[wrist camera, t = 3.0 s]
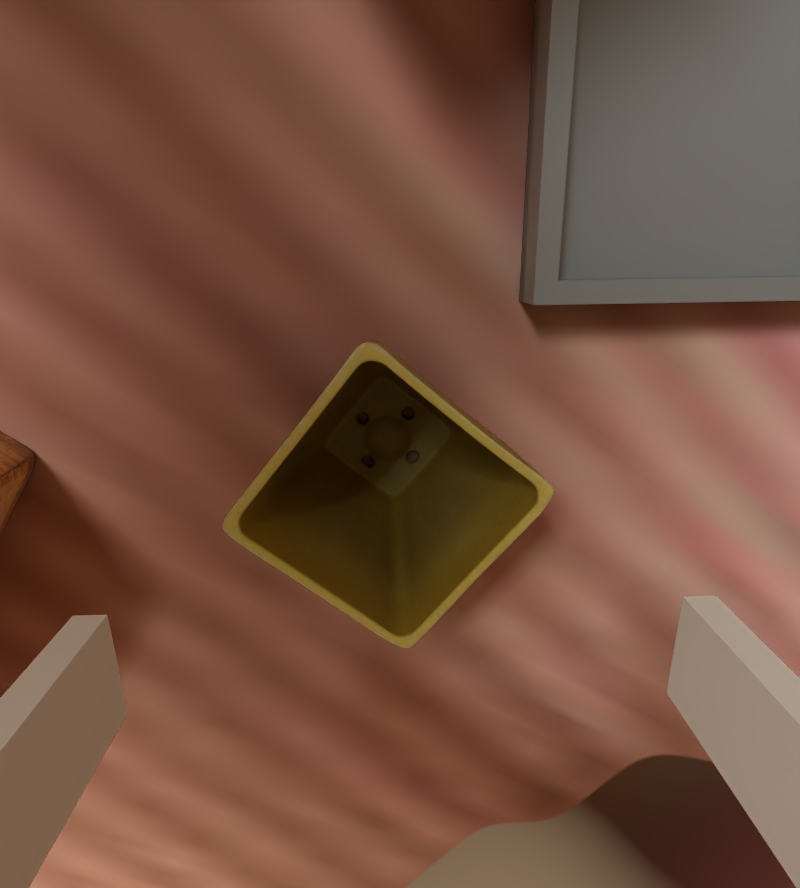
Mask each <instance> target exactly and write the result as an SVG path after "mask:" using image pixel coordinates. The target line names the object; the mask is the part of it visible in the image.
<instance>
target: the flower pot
mask: <svg viewBox="0 0 800 888" xmlns="http://www.w3.org/2000/svg"><path fill="white" fill-rule="evenodd" d="M406 408H411V409H412V410H413V412H414V414H413V417H412V418H410V419H406V418H404V417H403V415H402V412H403V410H404V409H406ZM360 413H366V414H367V415H368V421H367V422H366V423H360V422H359V421H358V420H357V416H358V415H359V414H360ZM410 451H415V452H417V454H418V457H417V459H416V460H414V461H410V460H408V459H407V454H408V453H409V452H410ZM365 456H371V457H372V458H373V459H374V462H373V464H372V465H369V466H367V465H365V464H364V463H363V458H364V457H365ZM553 495H554V489H553V487H552V485H551V484H550V483H549V482H548V481H547V480H545V479H544V478H543V477H542V476H541V475H540V474H539V473H538V472H537V471H536V470H534V469H533V468H532V467H531V466H530V465H529V464H528V463H527V462H526V461H524V460H523V459H522V458H521V457H520V456H519V455H518V454H517V453H516V452H514V451H513V450H512V449H511V448H510V447H509V446H508V445H507V444H506V443H504V442H503V441H502V440H500V439H499V438H498V437H496V436H495V435H494V434H492V433H491V432H490V431H488V430H487V429H486V428H485V427H483V426H482V425H481V424H479V423H478V422H477V421H476V420H474V419H473V418H472V417H470V416H469V415H468V414H467V413H465V412H464V411H463V410H462V409H460V408H459V407H458V406H457V405H455V404H454V403H453V402H452V401H451V400H449V399H448V398H447V397H446V396H444V395H443V394H442V393H441V392H440V391H438V390H437V389H436V388H435V387H433V386H432V385H431V384H430V383H429V382H427V381H426V380H425V379H424V378H423V377H421V376H420V375H419V374H418V373H417V372H415V371H414V370H413V369H412V368H411V367H409V366H408V365H407V364H406V363H405V362H403V361H402V360H401V359H400V358H399V357H397V356H396V355H395V354H394V353H393V352H391V351H390V350H389V349H388V348H387V347H385V346H384V345H383V344H381V343H379V342H375V341H370V342H363V343H362V344H361V345H359V346H358V347H357V348H356V349H355V350H354V351H353V353H352V354H351V355H350V357H349V358H348V359H347V361H346V362H345V364H344V365H343V366H342V368H341V369H340V370H339V372H338V373H337V374H336V375H335V377H334V378H333V379H332V381H331V382H330V383H329V385H328V386H327V387H326V389H325V390H324V391H323V392H322V394H321V395H320V396H319V398H318V399H317V400H316V401H315V403H314V404H313V405H312V407H311V408H310V409H309V411H308V412H307V413H306V415H305V416H304V417H303V418H302V420H301V421H300V422H299V423H298V425H297V426H296V427H295V428H294V430H293V431H292V432H291V434H290V435H289V436H288V437H287V439H286V440H285V441H284V443H283V444H282V445H281V446H280V448H279V449H278V450H277V451H276V453H275V454H274V455H273V457H272V458H271V459H270V460H269V462H268V463H267V464H266V465H265V467H264V468H263V469H262V470H261V472H260V473H259V474H258V476H257V477H256V478H255V479H254V481H253V482H252V483H251V485H250V486H249V487H248V488H247V490H246V491H245V492H244V494H243V495H242V496H241V497H240V498H239V500H238V501H237V502H236V503H235V505H234V506H233V507H232V508H231V510H230V511H229V512H228V514H227V515H226V517H225V518H224V520H223V523H222V529H223V530H224V531H225V532H226V533H227V534H228V535H229V536H230V537H231V538H232V539H234V540H235V541H236V542H237V543H239V544H240V545H242V546H243V547H245V548H247V549H248V550H249V551H251V552H252V553H254V554H255V555H257V556H258V557H260V558H261V559H262V560H264V561H266V562H267V563H269V564H270V565H272V566H273V567H275V568H276V569H278V570H280V571H281V572H283V573H284V574H286V575H287V576H289V577H290V578H292V579H293V580H295V581H297V582H298V583H300V584H301V585H302V586H304V587H305V588H307V589H308V590H310V591H312V592H313V593H315V594H316V595H318V596H320V597H321V598H323V599H324V600H326V601H328V602H329V603H331V604H332V605H333V606H335V607H336V608H338V609H339V610H341V611H342V612H344V613H345V614H347V615H348V616H350V617H352V618H353V619H355V620H356V621H358V622H359V623H361V624H362V625H363V626H365V627H366V628H368V629H369V630H371V631H372V632H374V633H375V634H377V635H378V636H380V637H382V638H384V639H385V640H387V641H389V642H391V643H393V644H395V645H397V646H399V647H401V648H404V649H408V648H410V647H411V646H413V645H414V644H415V643H416V642H418V641H419V640H420V639H421V638H422V637H423V636H424V635H425V634H426V633H427V632H428V631H429V629H430V628H431V627H432V626H433V625H434V624H435V623H436V622H437V621H438V620H439V619H440V618H441V617H442V615H443V614H444V613H445V612H446V611H447V610H448V609H449V608H450V607H451V606H452V605H453V604H454V603H455V602H456V601H457V600H458V599H459V597H460V596H461V595H462V594H463V593H464V592H465V591H466V590H467V589H468V588H469V587H470V586H471V585H472V584H473V583H474V581H475V580H476V579H477V578H478V577H479V576H480V575H481V574H482V573H483V572H484V571H485V570H486V569H487V568H488V567H489V566H490V565H491V564H492V563H493V562H494V561H495V560H496V559H497V558H498V557H499V556H500V555H501V554H502V553H503V552H504V551H505V550H506V549H507V548H508V547H509V546H510V545H511V544H512V543H513V542H514V541H515V540H516V538H517V537H519V536H520V535H521V533H522V532H523V531H525V530H526V528H527V527H528V526H529V525H530V524H531V523H532V522H533V521H534V520H535V519H536V518H537V517H538V516H539V515H540V514H541V513H542V512H543V510H544V509H545V508H546V506H547V505H548V504H549V502H550V501H551V499H552V497H553Z"/></svg>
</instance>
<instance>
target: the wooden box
mask: <svg viewBox="0 0 800 888" xmlns="http://www.w3.org/2000/svg"><path fill="white" fill-rule="evenodd" d="M34 462H35V461H34V453H33V452H32V451H31V450H30V449H28V448H27V447H25V446H24V445H22V444H20V443H19V442H17V441H15V440H14V439H12V438H10V437H8V436H7V435H5V434H3V433H1V432H0V537H1V535H2V532H3V530H4V528H5V526H6V524H7V522H8V520H9V517H10V515H11V513H12V511H13V509H14V507H15V505H16V503H17V501H18V499H19V497H20V495H21V493H22V491H23V489H24V487H25V485H26V483H27V481H28V479H29V477H30V474H31V472H32V470H33V467H34Z"/></svg>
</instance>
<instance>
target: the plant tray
mask: <svg viewBox="0 0 800 888" xmlns="http://www.w3.org/2000/svg"><path fill="white" fill-rule="evenodd" d="M519 301H521V302H524V303H527V304H531V305H576V304H633V303H690V302H747V301H800V0H535V17H534V36H533V54H532V73H531V91H530V109H529V128H528V146H527V165H526V183H525V202H524V220H523V238H522V257H521V275H520V294H519Z"/></svg>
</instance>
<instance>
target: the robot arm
mask: <svg viewBox="0 0 800 888" xmlns="http://www.w3.org/2000/svg"><path fill="white" fill-rule="evenodd" d="M667 694H668V696H669V697H670V699H671V700H672V702H673V703H674V705H675V706H676V708H677V709H678V711H679V712H680V714H681V715H682V717H683V718H684V720H685V721H686V723H687V724H688V726H689V727H690V729H691V730H692V732H693V733H694V735H695V736H696V738H697V739H698V741H699V742H700V744H701V745H702V747H703V748H704V750H705V751H706V753H707V754H708V756H709V757H710V759H711V760H712V762H713V763H714V765H715V766H716V768H717V769H718V771H719V772H720V774H721V775H722V777H723V778H724V780H725V781H726V783H727V784H728V786H729V787H730V788H731V790H732V792H733V793H734V795H735V796H736V798H737V799H738V801H739V802H740V803H741V805H742V807H743V808H744V810H745V811H746V813H747V814H748V816H749V817H750V819H751V820H752V822H753V823H754V825H755V826H756V828H757V829H758V830H759V832H760V834H761V835H762V837H763V838H764V840H765V841H766V842H767V844H768V846H769V847H770V849H771V850H772V852H773V853H774V855H775V856H776V858H777V859H778V861H779V862H780V864H781V865H782V867H783V868H784V869H785V871H786V873H787V874H788V876H789V877H790V879H791V880H792V882H793V883H794V885H795V886H796V888H800V678H799V677H798V676H797V675H796V674H795V673H794V672H793V671H792V670H791V669H790V668H789V667H788V666H786V665H785V664H784V663H783V662H782V661H781V660H780V659H779V658H778V657H777V656H776V655H775V654H774V653H773V652H772V651H771V650H770V649H769V648H768V647H767V646H766V645H765V644H764V643H763V642H762V641H761V640H760V639H759V638H758V637H757V636H756V635H755V634H754V633H753V632H752V631H751V630H750V629H749V628H748V627H747V626H746V625H745V624H744V623H743V622H742V621H741V620H740V619H739V618H738V617H737V616H736V615H735V614H734V613H733V612H732V611H731V610H730V609H729V608H728V607H727V606H726V605H725V604H724V603H723V602H722V601H721V600H720V599H719V598H718V597H717V596H716V595H711V596H683V599H682V605H681V611H680V617H679V623H678V628H677V634H676V640H675V646H674V652H673V658H672V664H671V669H670V675H669V681H668V687H667ZM127 713H128V710H127V705H126V700H125V695H124V691H123V686H122V681H121V677H120V672H119V667H118V663H117V658H116V653H115V648H114V644H113V639H112V634H111V630H110V625H109V620H108V616H107V615H78V616H72V617H71V618H70V619H69V620H68V622H67V623H66V624H65V625H64V626H63V627H62V628H61V630H60V631H59V632H58V633H57V634H56V635H55V636H54V638H53V639H52V640H51V641H50V642H49V643H48V644H47V645H46V647H45V648H44V649H43V650H42V651H41V652H40V653H39V655H38V656H37V657H36V658H35V659H34V660H33V661H32V663H31V664H30V665H29V666H28V667H27V668H26V669H25V671H24V672H23V673H22V674H21V675H20V676H19V677H18V678H17V680H16V681H15V682H14V683H13V684H12V685H11V686H10V688H9V689H8V690H7V691H6V692H5V693H4V694H3V696H2V697H1V698H0V888H29V887H30V885H31V883H32V881H33V880H34V878H35V876H36V874H37V873H38V871H39V869H40V867H41V865H42V864H43V862H44V860H45V858H46V857H47V855H48V853H49V851H50V850H51V848H52V846H53V844H54V843H55V841H56V839H57V837H58V835H59V834H60V832H61V830H62V828H63V827H64V825H65V823H66V821H67V820H68V818H69V816H70V814H71V812H72V811H73V809H74V807H75V805H76V804H77V802H78V800H79V798H80V797H81V795H82V793H83V791H84V789H85V788H86V786H87V784H88V782H89V781H90V779H91V777H92V775H93V774H94V772H95V770H96V768H97V766H98V765H99V763H100V761H101V759H102V758H103V756H104V754H105V752H106V751H107V749H108V747H109V745H110V743H111V742H112V740H113V738H114V736H115V735H116V733H117V731H118V729H119V728H120V726H121V724H122V722H123V720H124V719H125V717H126V715H127Z"/></svg>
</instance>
